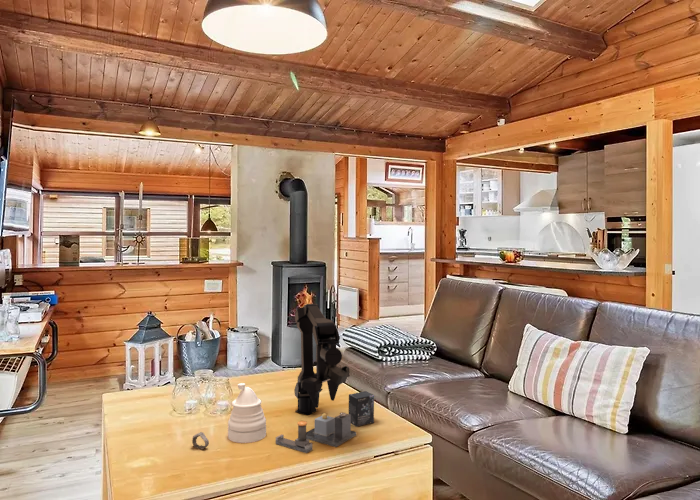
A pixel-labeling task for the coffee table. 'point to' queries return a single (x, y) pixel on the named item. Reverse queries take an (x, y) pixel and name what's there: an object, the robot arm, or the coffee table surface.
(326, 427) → the block
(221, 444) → the coffee table surface
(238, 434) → the honey pot
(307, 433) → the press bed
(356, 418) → the box
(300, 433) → the lever
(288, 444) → the lever rail
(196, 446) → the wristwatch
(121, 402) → the coffee table surface
